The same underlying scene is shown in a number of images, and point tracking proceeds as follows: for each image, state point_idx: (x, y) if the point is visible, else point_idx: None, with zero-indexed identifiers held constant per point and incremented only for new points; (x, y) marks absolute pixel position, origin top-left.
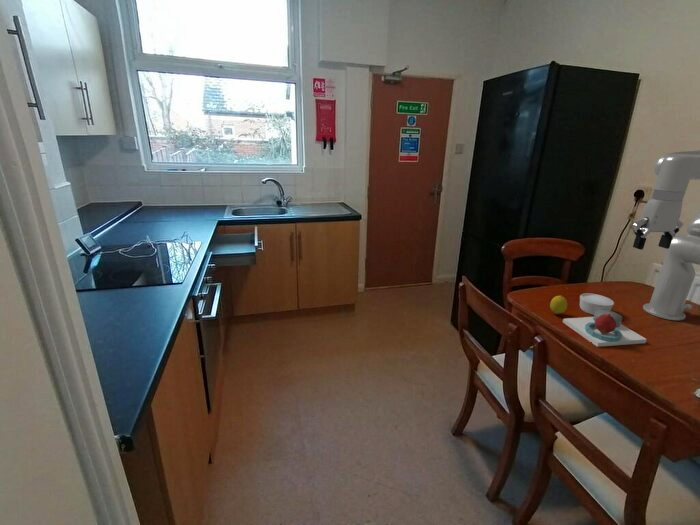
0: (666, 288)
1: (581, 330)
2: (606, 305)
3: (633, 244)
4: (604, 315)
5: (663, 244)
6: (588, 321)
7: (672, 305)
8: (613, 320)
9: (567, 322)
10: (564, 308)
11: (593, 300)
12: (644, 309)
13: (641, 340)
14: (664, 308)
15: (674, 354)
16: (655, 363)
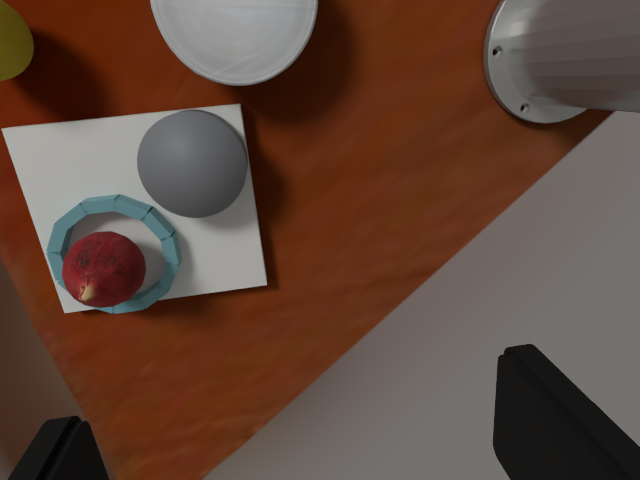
0: (595, 66)
1: (40, 231)
2: (235, 83)
3: (28, 449)
4: (75, 284)
5: (518, 435)
6: (115, 157)
7: (560, 101)
8: (110, 302)
9: (14, 156)
10: (2, 79)
11: (201, 16)
12: (492, 17)
13: (246, 286)
14: (531, 85)
15: (308, 333)
16: (209, 377)
